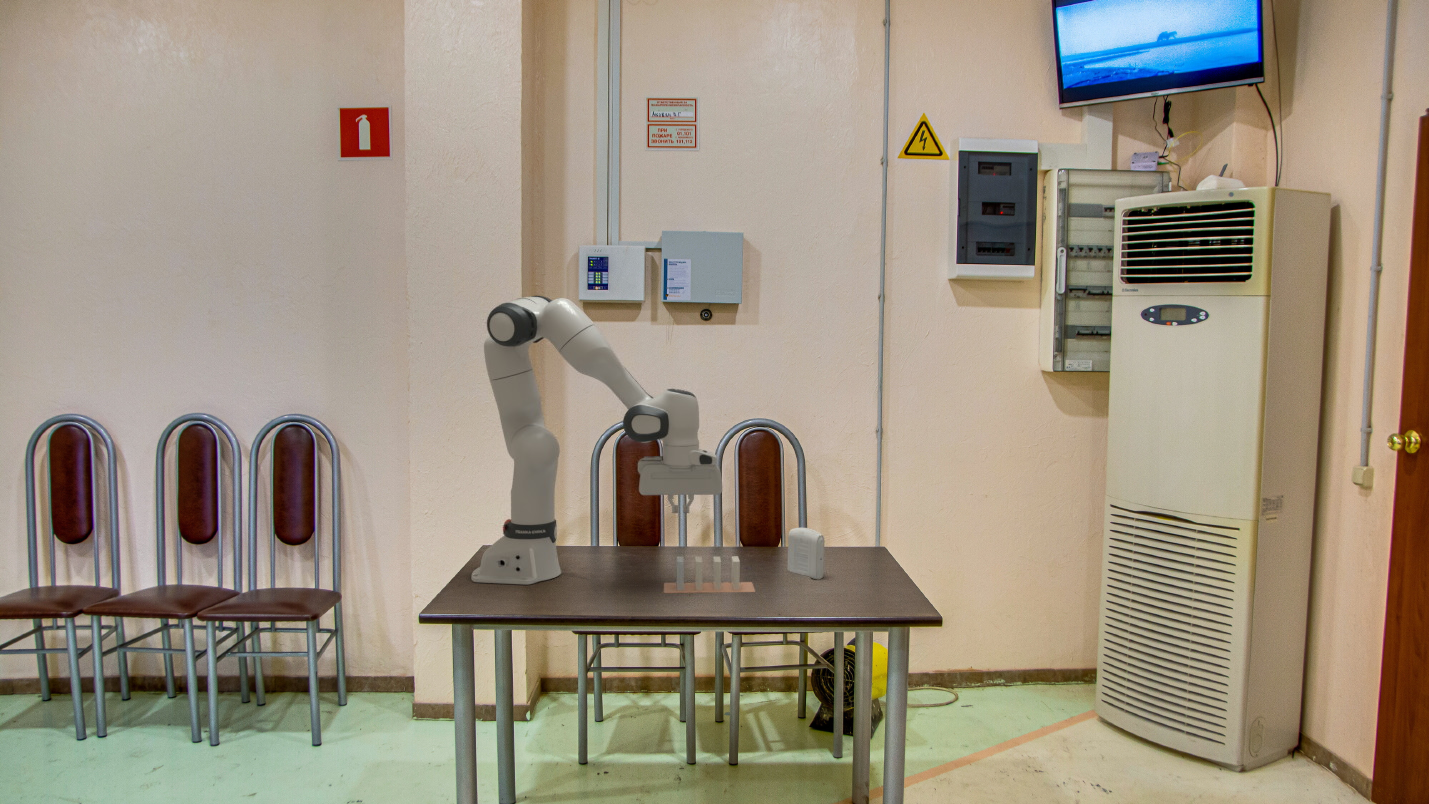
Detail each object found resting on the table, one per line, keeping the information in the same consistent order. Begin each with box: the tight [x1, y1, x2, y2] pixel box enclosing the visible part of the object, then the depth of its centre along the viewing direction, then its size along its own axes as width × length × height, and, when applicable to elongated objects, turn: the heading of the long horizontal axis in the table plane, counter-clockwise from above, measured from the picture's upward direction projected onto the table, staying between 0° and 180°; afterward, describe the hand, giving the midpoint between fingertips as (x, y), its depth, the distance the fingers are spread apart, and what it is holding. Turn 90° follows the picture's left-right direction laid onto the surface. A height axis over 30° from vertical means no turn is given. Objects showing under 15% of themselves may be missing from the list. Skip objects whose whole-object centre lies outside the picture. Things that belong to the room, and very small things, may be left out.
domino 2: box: [694, 556, 704, 591], centre depth 191 cm, size 2×5×7 cm, turn 4°
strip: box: [663, 581, 756, 594], centre depth 192 cm, size 22×8×1 cm, turn 93°
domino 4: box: [730, 555, 741, 590], centre depth 192 cm, size 2×5×7 cm, turn 3°
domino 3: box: [712, 556, 722, 590], centre depth 192 cm, size 2×5×7 cm, turn 4°
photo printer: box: [787, 527, 826, 580], centre depth 205 cm, size 10×4×12 cm, turn 47°
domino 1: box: [676, 556, 685, 591], centre depth 191 cm, size 2×5×7 cm, turn 3°
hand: (680, 512), depth 190 cm, fingers closed
